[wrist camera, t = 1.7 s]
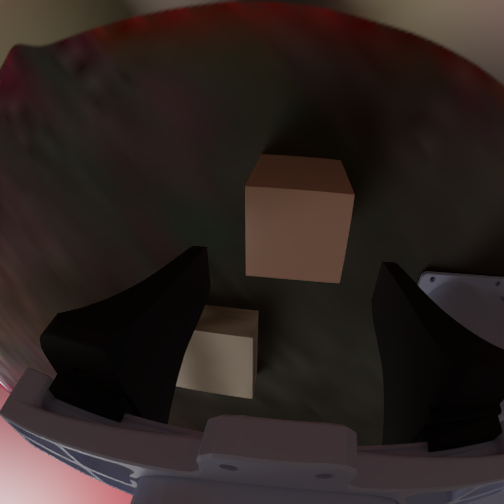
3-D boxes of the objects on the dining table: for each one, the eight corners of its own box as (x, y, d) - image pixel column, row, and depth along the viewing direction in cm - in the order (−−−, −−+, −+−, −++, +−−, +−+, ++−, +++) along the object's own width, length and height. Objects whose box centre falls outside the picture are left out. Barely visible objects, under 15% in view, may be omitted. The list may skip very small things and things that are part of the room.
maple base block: (259, 307, 27) (252, 337, 24) (257, 371, 31) (252, 398, 28) (159, 295, 28) (144, 322, 25) (175, 358, 32) (164, 383, 30)
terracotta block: (340, 159, 19) (354, 194, 14) (332, 229, 21) (339, 283, 16) (261, 154, 19) (245, 186, 14) (260, 224, 22) (245, 275, 17)
